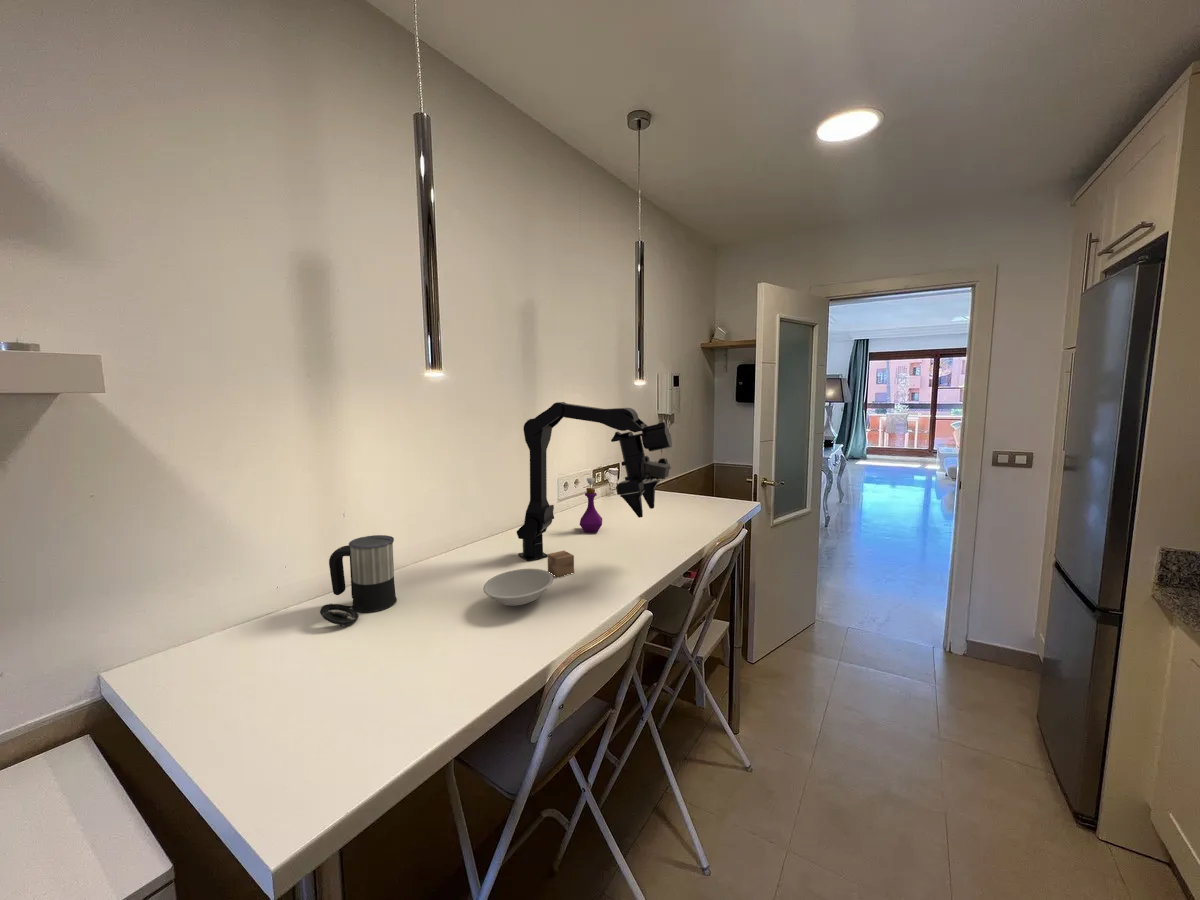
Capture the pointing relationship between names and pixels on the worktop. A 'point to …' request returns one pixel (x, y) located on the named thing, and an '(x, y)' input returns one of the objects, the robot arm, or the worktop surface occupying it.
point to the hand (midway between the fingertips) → (646, 512)
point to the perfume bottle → (591, 512)
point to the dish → (518, 586)
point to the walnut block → (560, 563)
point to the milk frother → (363, 578)
